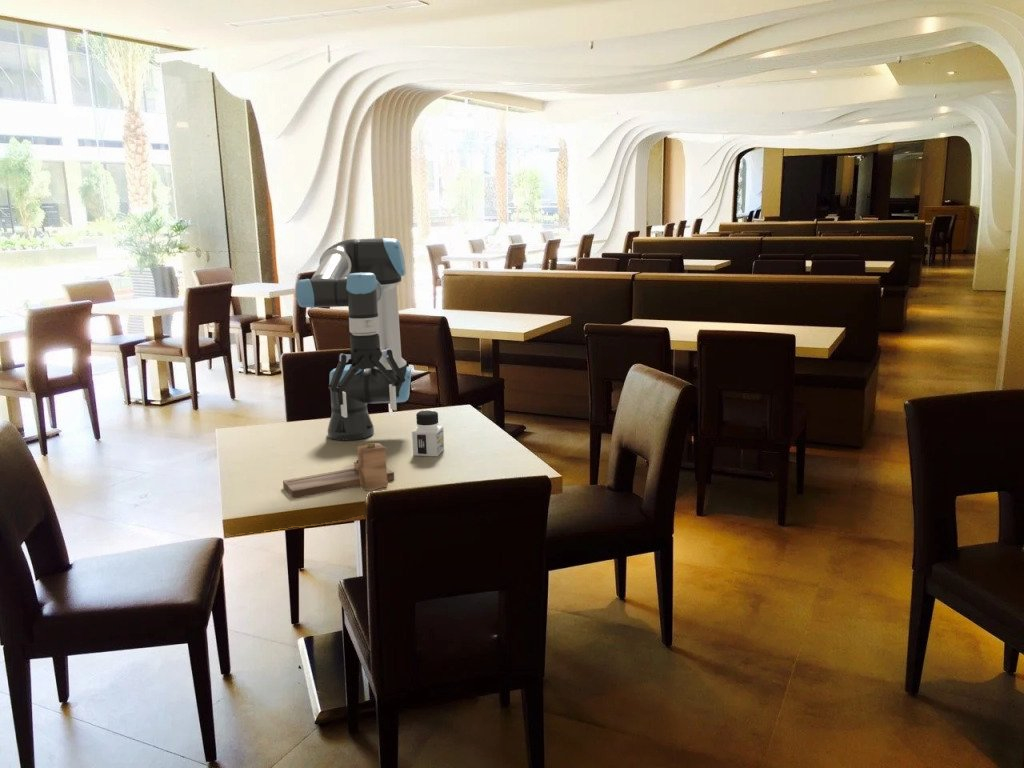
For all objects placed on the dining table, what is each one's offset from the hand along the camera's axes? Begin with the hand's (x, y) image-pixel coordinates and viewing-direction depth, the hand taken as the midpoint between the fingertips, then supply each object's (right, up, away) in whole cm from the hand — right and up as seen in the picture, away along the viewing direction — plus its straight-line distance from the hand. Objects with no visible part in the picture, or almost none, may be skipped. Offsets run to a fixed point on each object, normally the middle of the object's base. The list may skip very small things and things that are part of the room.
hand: (369, 412), depth 216 cm
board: (-9, -20, +8) cm, 23 cm away
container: (+12, -14, +35) cm, 39 cm away
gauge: (-2, -19, +8) cm, 21 cm away
